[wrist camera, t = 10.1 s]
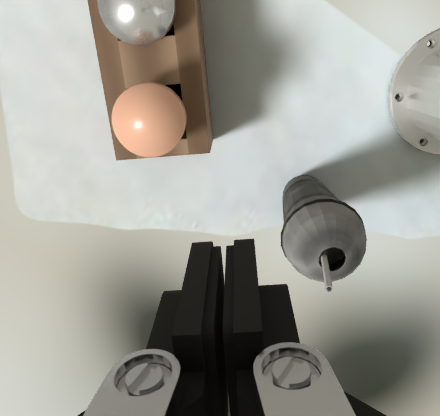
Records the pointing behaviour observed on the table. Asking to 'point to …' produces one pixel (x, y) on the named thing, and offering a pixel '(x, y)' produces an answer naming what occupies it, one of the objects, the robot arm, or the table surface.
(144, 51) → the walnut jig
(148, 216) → the table surface
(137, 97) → the peach domed piece
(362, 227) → the beverage cup
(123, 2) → the steel plug
